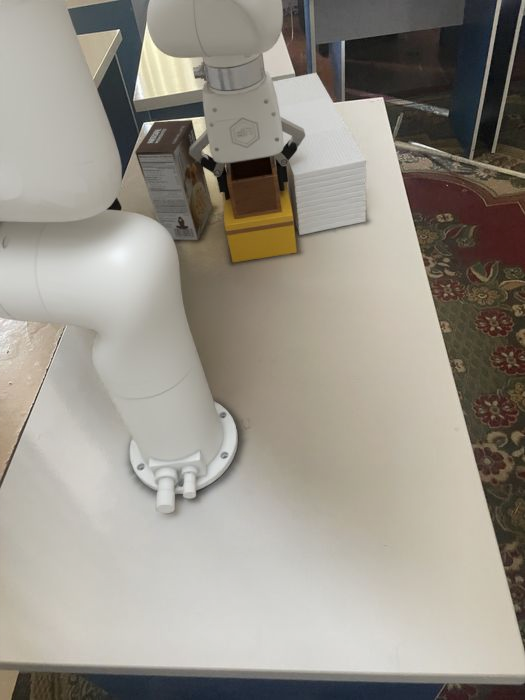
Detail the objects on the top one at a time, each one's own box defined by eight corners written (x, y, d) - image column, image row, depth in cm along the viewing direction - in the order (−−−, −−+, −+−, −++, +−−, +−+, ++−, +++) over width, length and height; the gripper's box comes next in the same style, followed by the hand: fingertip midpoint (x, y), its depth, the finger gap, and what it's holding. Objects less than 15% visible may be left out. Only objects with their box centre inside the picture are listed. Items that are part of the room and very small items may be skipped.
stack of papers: (365, 221, 90) (366, 159, 82) (299, 235, 90) (293, 174, 82) (319, 128, 111) (316, 72, 103) (266, 139, 111) (258, 84, 103)
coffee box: (179, 207, 99) (154, 119, 87) (213, 208, 98) (193, 118, 86) (162, 240, 94) (133, 151, 82) (199, 241, 92) (175, 150, 80)
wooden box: (282, 212, 82) (277, 175, 78) (234, 219, 83) (227, 183, 78) (275, 175, 89) (270, 139, 85) (231, 182, 90) (224, 147, 85)
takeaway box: (297, 253, 87) (293, 214, 82) (232, 262, 87) (224, 225, 82) (288, 207, 95) (284, 170, 90) (229, 217, 95) (221, 180, 90)
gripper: (166, 94, 70) (197, 214, 83) (306, 70, 69) (315, 195, 82) (168, 69, 75) (197, 186, 88) (299, 47, 74) (308, 168, 87)
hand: (254, 189), depth 85 cm, fingers open, 7 cm apart
